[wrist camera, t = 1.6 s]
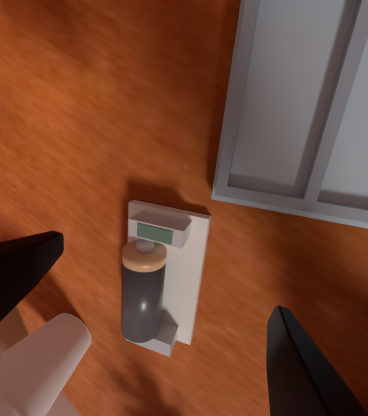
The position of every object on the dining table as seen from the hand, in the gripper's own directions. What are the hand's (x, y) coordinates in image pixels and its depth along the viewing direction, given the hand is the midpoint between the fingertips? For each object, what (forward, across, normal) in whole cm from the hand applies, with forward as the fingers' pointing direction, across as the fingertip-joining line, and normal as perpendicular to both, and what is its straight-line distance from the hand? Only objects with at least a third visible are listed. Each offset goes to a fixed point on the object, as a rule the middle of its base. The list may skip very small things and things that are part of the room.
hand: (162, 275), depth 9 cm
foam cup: (+12, +13, +26) cm, 32 cm away
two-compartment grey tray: (+12, -7, -8) cm, 16 cm away
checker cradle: (+12, +2, +10) cm, 16 cm away
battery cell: (+11, +2, +11) cm, 15 cm away
